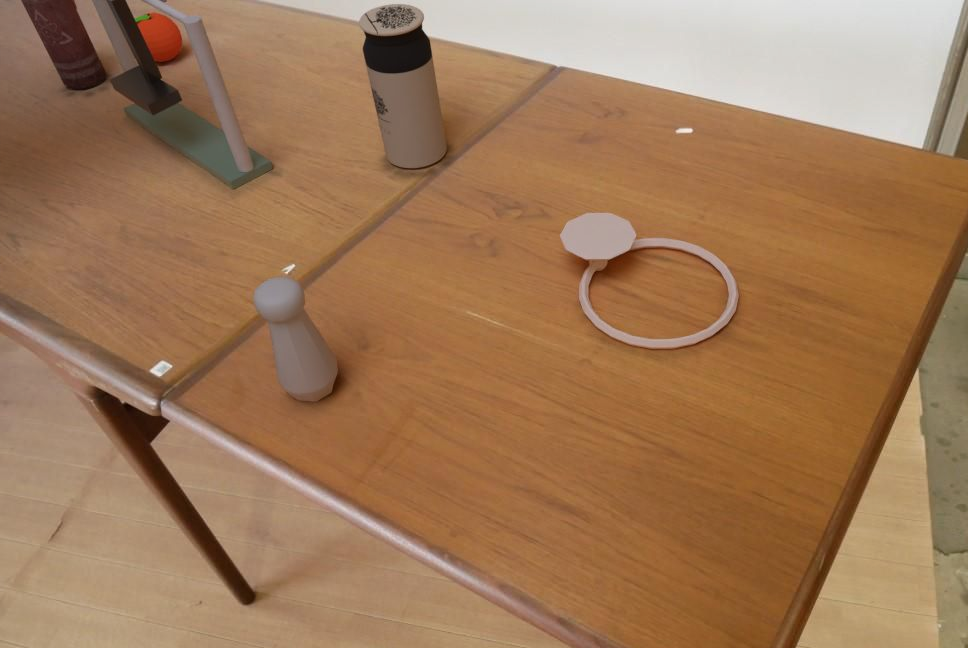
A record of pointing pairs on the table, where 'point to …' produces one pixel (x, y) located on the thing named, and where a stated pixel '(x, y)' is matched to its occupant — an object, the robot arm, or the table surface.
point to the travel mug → (403, 85)
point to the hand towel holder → (615, 236)
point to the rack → (179, 124)
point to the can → (66, 42)
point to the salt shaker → (295, 341)
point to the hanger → (141, 67)
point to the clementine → (160, 35)
